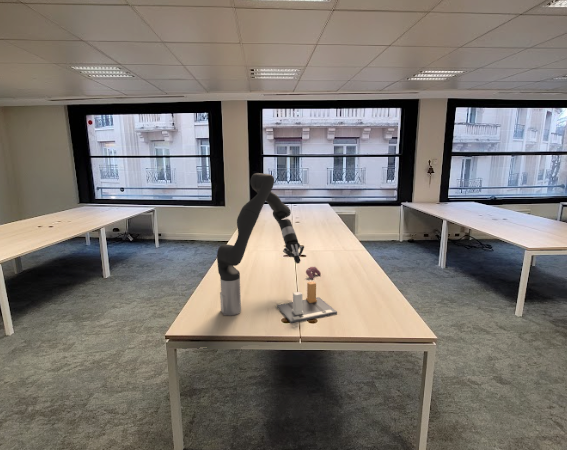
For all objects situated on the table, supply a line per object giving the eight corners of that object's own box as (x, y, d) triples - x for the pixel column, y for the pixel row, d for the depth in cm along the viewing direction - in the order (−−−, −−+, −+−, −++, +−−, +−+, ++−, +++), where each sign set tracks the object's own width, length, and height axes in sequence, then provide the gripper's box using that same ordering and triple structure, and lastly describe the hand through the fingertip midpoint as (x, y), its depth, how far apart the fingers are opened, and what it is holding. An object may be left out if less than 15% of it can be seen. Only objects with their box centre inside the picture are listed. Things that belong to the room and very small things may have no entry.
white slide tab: (295, 315, 152) (295, 295, 150) (291, 311, 156) (291, 292, 154) (303, 313, 154) (303, 294, 152) (299, 309, 157) (299, 290, 156)
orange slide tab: (309, 303, 165) (310, 284, 163) (306, 299, 169) (306, 281, 167) (317, 301, 166) (317, 283, 164) (313, 298, 170) (313, 280, 168)
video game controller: (316, 276, 210) (312, 265, 211) (321, 274, 207) (317, 264, 208) (307, 280, 203) (303, 270, 203) (313, 279, 200) (309, 268, 200)
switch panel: (291, 323, 147) (291, 320, 147) (276, 306, 164) (276, 304, 163) (337, 313, 156) (337, 311, 156) (319, 298, 173) (319, 296, 172)
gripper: (280, 233, 182) (289, 261, 173) (301, 231, 187) (311, 258, 178) (277, 240, 188) (285, 267, 179) (297, 238, 193) (307, 264, 184)
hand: (298, 262), depth 179 cm, fingers closed
